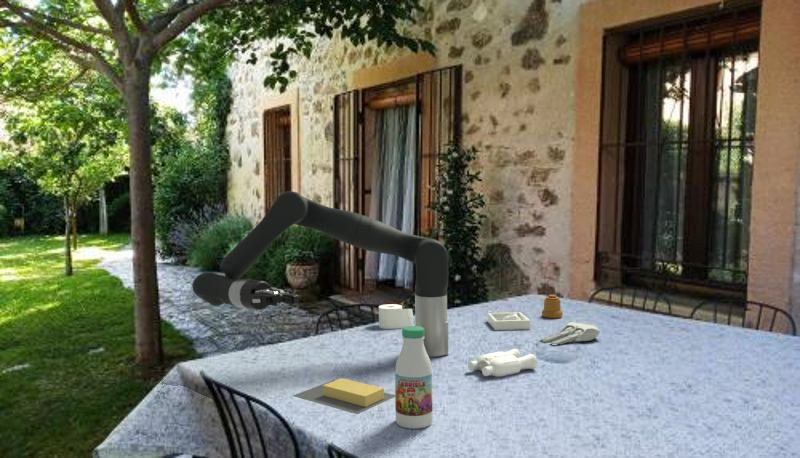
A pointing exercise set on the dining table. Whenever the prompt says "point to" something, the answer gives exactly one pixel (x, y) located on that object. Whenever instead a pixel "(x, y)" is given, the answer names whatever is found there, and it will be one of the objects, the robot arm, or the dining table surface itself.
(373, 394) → the box
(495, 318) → the holder
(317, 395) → the mat
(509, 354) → the binoculars
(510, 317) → the whipped cream
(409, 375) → the milk bottle
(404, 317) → the toilet paper
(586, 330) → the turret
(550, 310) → the ornamental finial
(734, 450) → the dining table surface
